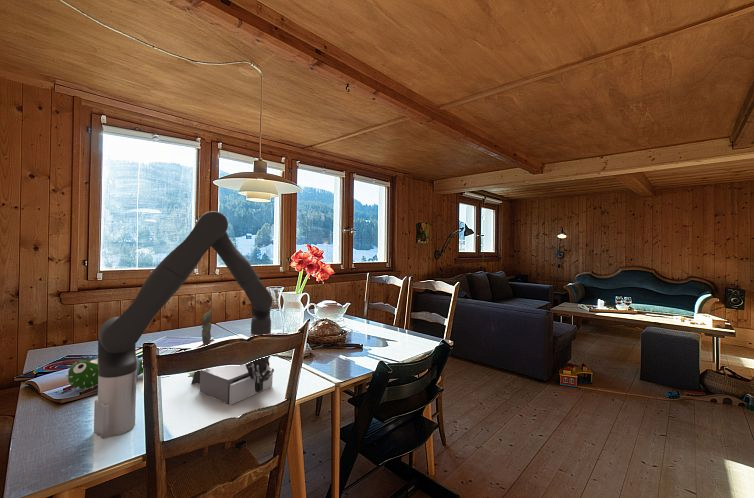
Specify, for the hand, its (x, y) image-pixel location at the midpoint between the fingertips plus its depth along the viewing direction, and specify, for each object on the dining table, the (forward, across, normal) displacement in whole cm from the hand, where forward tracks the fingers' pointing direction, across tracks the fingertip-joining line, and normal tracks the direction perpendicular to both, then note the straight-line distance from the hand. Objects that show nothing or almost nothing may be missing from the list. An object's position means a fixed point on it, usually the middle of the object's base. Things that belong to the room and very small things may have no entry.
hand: (258, 391), depth 128 cm
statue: (+3, +30, +2) cm, 30 cm away
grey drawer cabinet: (+2, +13, 0) cm, 13 cm away
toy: (+3, +54, +22) cm, 59 cm away
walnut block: (+1, +8, 0) cm, 8 cm away
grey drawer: (+2, +11, 0) cm, 11 cm away
